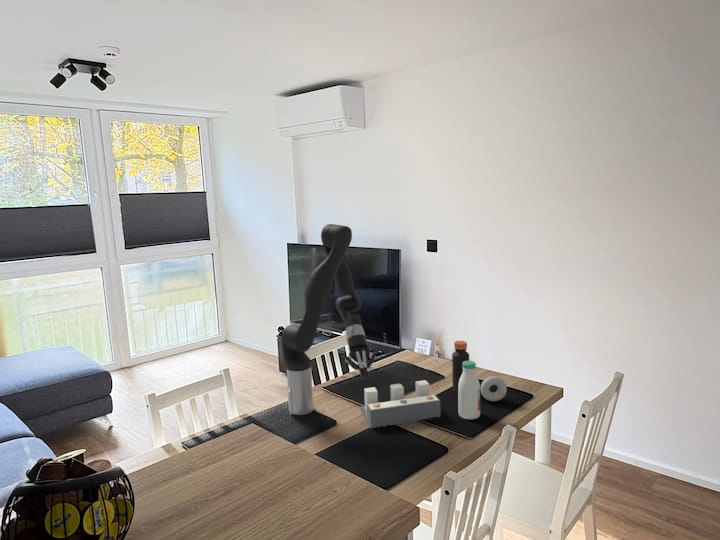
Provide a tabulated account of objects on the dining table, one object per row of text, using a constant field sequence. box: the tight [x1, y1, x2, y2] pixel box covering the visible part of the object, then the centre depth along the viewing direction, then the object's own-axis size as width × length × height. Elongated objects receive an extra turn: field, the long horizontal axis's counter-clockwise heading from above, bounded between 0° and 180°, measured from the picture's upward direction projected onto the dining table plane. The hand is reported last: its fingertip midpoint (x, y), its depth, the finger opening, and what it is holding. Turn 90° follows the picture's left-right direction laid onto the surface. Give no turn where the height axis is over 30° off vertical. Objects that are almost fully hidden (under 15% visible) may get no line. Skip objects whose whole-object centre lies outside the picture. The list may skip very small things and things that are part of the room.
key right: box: [414, 379, 431, 398], centre depth 186 cm, size 4×4×8 cm
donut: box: [480, 375, 508, 402], centre depth 189 cm, size 10×4×10 cm, turn 90°
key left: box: [363, 386, 379, 411], centre depth 182 cm, size 4×4×8 cm
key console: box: [360, 394, 442, 429], centre depth 182 cm, size 26×15×7 cm, turn 103°
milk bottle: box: [457, 360, 481, 420], centre depth 178 cm, size 8×8×20 cm
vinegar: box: [451, 340, 470, 393], centre depth 200 cm, size 7×7×20 cm
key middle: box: [389, 383, 405, 401], centre depth 184 cm, size 4×4×8 cm
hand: (365, 378), depth 190 cm, fingers closed
